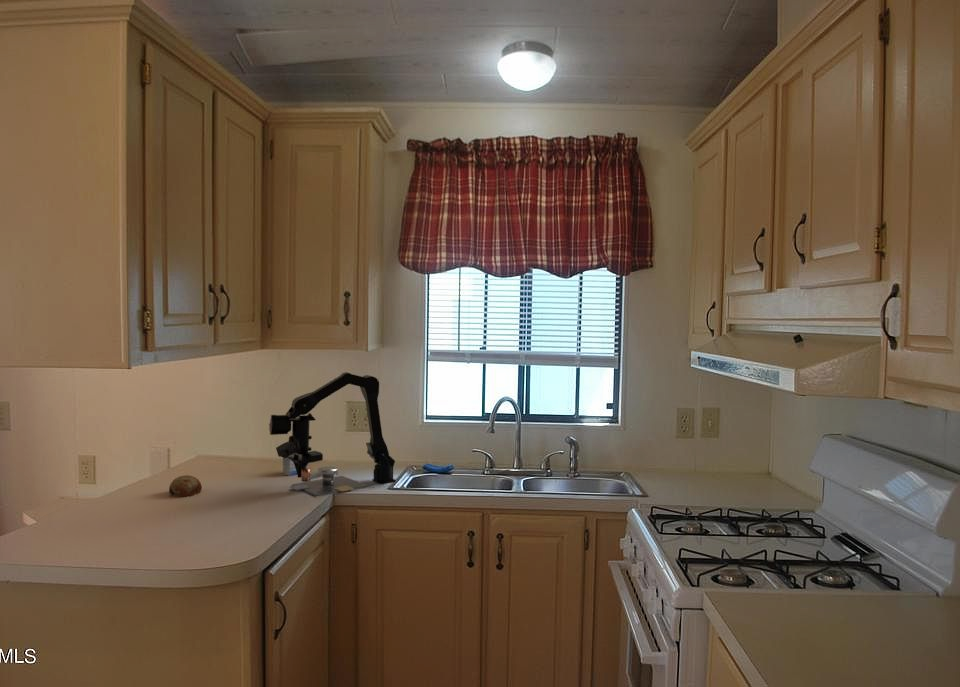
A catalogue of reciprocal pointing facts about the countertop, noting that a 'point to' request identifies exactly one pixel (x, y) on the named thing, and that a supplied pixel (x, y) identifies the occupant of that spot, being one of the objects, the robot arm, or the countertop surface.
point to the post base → (328, 485)
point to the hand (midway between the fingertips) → (299, 477)
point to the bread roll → (185, 486)
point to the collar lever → (318, 473)
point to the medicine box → (289, 467)
